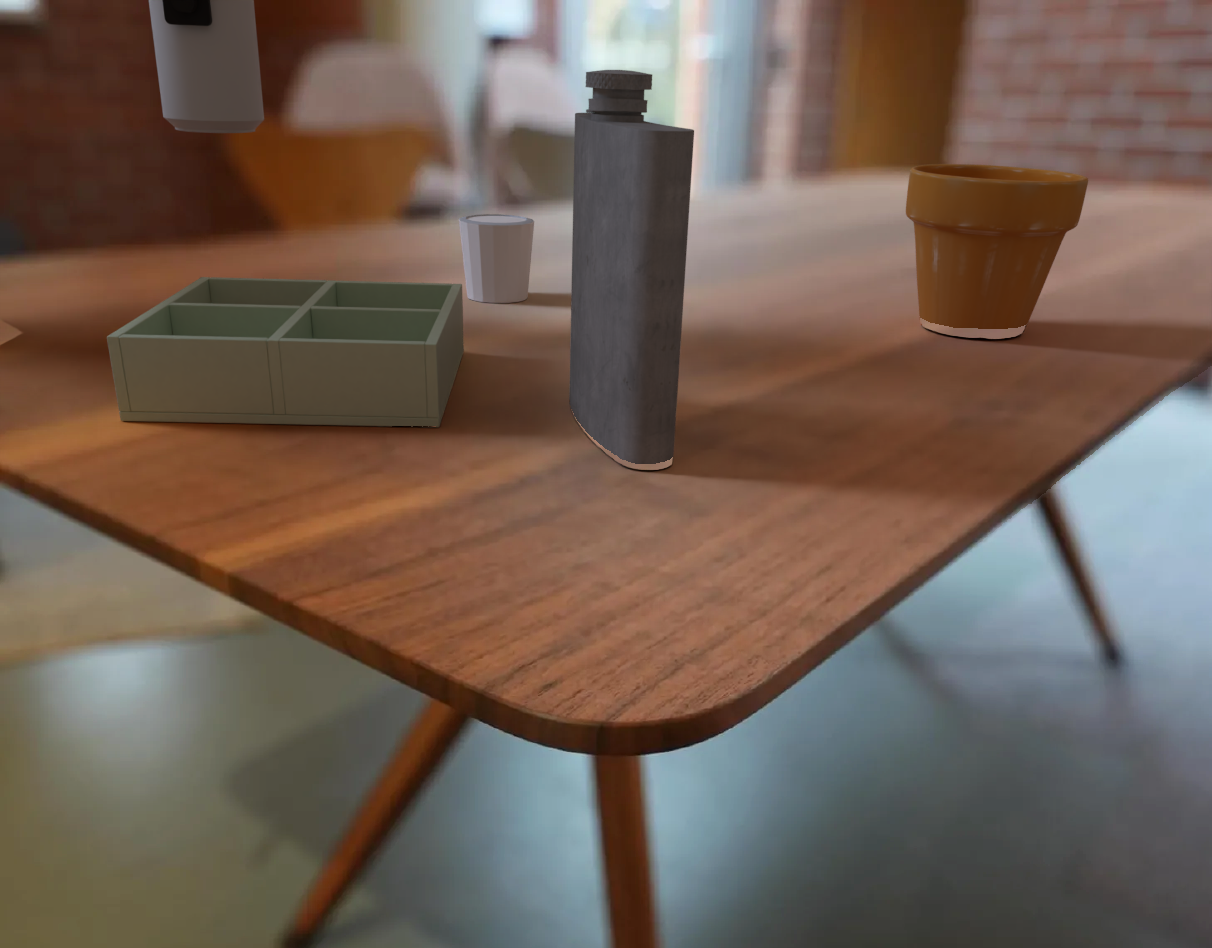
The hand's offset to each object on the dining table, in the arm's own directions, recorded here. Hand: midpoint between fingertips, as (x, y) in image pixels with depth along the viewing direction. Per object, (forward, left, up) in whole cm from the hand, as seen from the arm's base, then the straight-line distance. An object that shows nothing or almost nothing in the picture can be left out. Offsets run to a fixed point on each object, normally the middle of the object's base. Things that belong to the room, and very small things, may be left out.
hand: (204, 24), depth 84 cm
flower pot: (+63, +2, -22) cm, 67 cm away
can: (0, 0, -8) cm, 8 cm away
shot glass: (+21, +11, -22) cm, 32 cm away
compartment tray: (+10, -20, -22) cm, 31 cm away
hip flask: (+30, -29, -22) cm, 47 cm away
